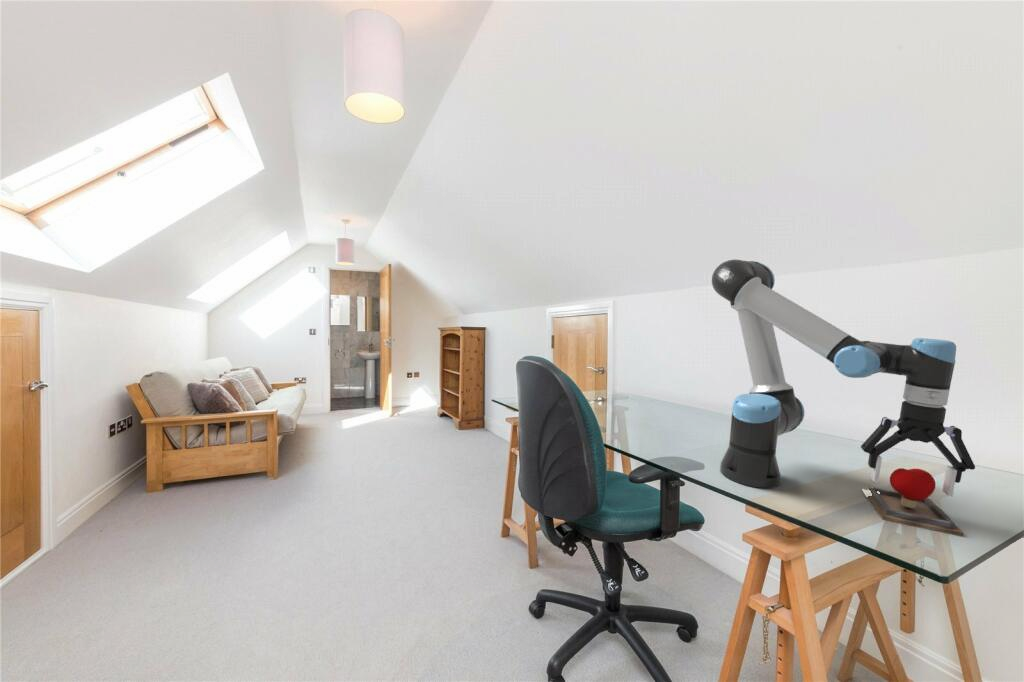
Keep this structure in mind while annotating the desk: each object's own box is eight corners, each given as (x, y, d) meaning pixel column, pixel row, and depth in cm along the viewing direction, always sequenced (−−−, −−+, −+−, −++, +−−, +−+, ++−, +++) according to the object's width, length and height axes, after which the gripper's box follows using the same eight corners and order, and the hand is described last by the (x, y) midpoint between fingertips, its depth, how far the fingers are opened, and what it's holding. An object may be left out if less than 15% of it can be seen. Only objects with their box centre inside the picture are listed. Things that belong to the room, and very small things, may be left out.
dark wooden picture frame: (882, 519, 97) (883, 511, 97) (861, 490, 111) (862, 483, 111) (963, 536, 91) (965, 528, 91) (930, 503, 105) (931, 496, 105)
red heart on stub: (911, 501, 105) (917, 464, 103) (940, 516, 98) (948, 477, 97) (876, 500, 104) (882, 463, 103) (903, 516, 98) (910, 476, 96)
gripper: (862, 399, 100) (850, 480, 103) (1008, 416, 89) (989, 507, 92) (853, 392, 107) (842, 469, 110) (987, 407, 96) (971, 492, 99)
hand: (909, 486), depth 101 cm, fingers open, 13 cm apart
